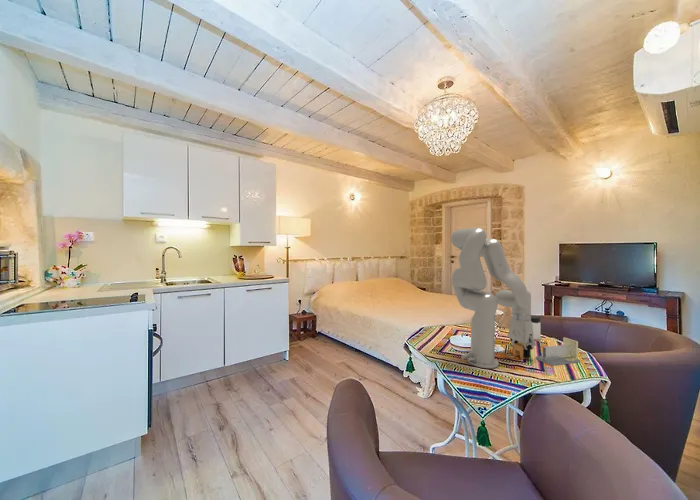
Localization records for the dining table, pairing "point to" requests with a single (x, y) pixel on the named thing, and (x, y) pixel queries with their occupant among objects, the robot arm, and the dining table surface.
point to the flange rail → (561, 353)
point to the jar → (536, 327)
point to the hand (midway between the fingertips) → (521, 354)
